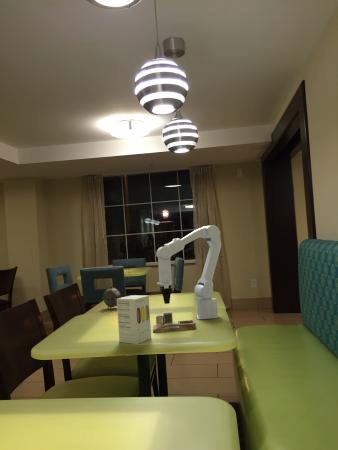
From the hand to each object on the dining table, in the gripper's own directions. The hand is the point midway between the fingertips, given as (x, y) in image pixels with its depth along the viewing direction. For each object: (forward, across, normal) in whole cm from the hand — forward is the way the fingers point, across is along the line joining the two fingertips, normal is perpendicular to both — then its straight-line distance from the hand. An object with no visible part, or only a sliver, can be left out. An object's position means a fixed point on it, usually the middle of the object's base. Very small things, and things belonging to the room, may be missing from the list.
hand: (166, 302), depth 166 cm
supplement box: (+10, +24, -14) cm, 29 cm away
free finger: (+10, 0, 0) cm, 10 cm away
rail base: (+10, +11, +2) cm, 15 cm away
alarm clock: (+10, -50, -31) cm, 60 cm away
